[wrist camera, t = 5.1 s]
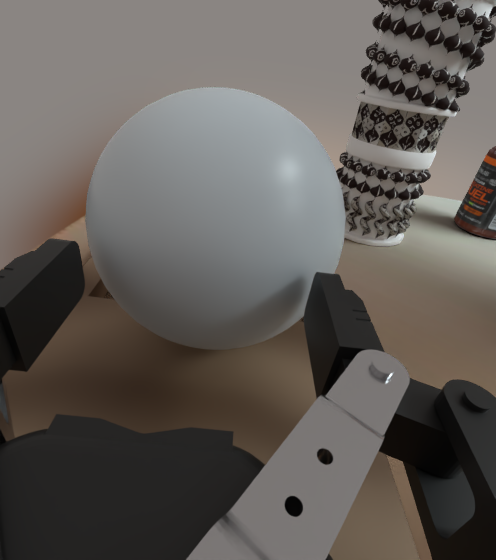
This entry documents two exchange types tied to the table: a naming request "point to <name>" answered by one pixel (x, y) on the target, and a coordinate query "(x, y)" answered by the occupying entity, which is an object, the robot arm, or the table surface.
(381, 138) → the decorative candle
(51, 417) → the wooden tray
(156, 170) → the ball
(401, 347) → the table surface
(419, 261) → the table surface
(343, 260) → the table surface
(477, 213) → the supplement bottle
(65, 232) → the table surface
